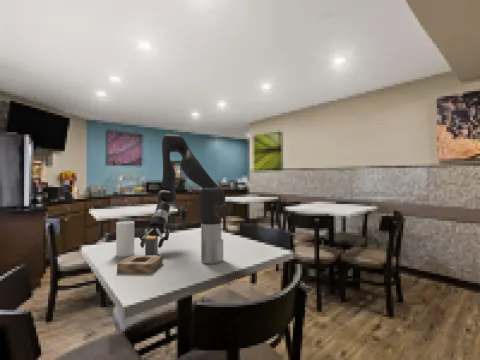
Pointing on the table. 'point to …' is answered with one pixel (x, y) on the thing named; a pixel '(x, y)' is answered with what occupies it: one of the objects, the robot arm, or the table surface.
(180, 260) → the table surface
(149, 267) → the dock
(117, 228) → the cup
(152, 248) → the block
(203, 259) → the robot arm
